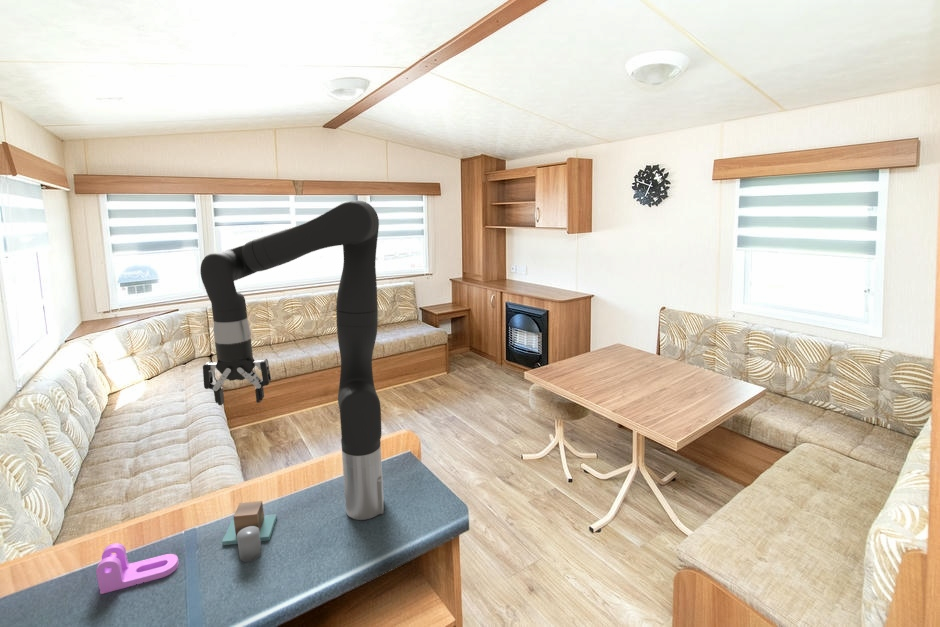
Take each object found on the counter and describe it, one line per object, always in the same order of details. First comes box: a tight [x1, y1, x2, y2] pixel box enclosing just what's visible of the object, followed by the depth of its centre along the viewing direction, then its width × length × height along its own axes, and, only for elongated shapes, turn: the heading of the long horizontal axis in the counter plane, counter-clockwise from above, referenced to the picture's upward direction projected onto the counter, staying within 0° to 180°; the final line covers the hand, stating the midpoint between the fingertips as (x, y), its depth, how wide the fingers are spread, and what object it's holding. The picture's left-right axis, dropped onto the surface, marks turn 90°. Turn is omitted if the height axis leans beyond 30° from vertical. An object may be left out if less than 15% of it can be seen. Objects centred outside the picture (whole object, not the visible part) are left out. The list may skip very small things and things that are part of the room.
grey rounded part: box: [237, 526, 263, 563], centre depth 105 cm, size 4×4×6 cm
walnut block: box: [233, 500, 265, 536], centre depth 112 cm, size 5×5×5 cm
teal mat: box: [221, 513, 278, 546], centre depth 112 cm, size 10×8×1 cm
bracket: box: [95, 542, 180, 595], centre depth 99 cm, size 13×6×7 cm, turn 114°
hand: (240, 402), depth 115 cm, fingers open, 8 cm apart
